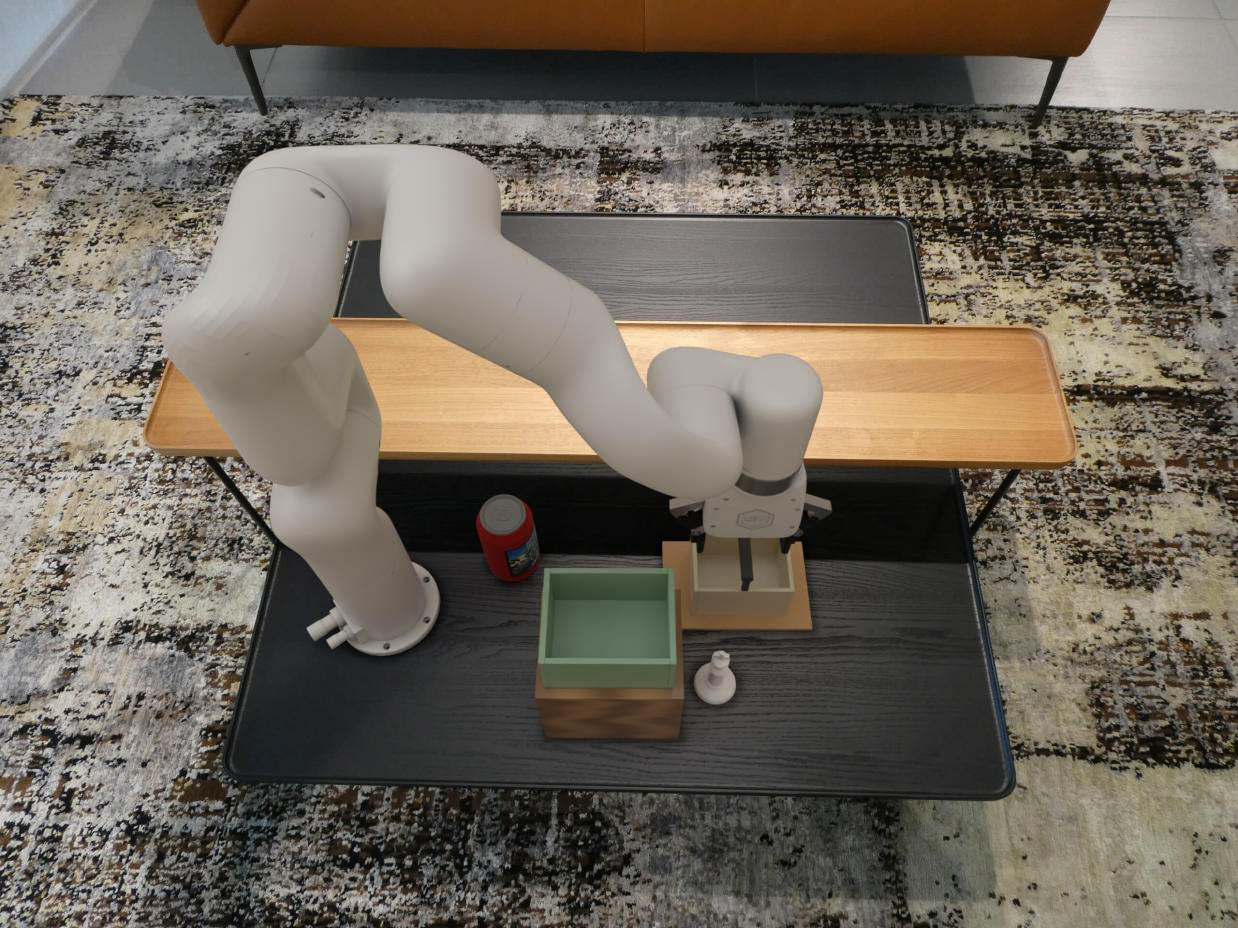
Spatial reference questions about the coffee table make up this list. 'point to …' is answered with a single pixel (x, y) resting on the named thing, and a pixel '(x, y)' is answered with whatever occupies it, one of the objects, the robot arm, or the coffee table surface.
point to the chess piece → (715, 680)
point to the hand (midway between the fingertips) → (741, 542)
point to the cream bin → (740, 577)
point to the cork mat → (794, 619)
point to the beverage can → (508, 537)
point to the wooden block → (614, 705)
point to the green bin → (608, 628)
